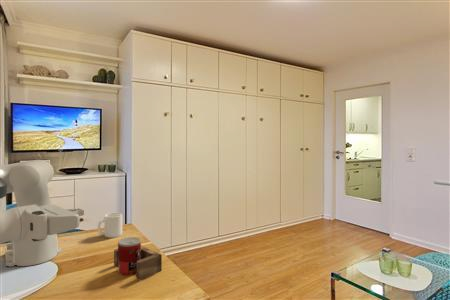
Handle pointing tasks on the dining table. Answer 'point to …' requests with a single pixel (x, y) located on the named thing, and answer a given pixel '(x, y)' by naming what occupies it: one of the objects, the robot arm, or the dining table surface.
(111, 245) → the dining table surface
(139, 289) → the dining table surface
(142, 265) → the corral
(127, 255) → the canned food
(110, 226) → the cup
